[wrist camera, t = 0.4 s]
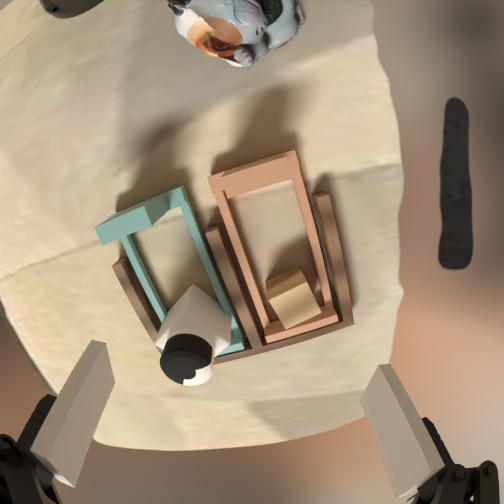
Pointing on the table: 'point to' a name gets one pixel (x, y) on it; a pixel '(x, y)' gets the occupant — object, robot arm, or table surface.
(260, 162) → the sled
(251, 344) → the lane rails
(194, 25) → the lucky cat figurine
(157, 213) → the frame
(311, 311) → the oak cube
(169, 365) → the medicine bottle
